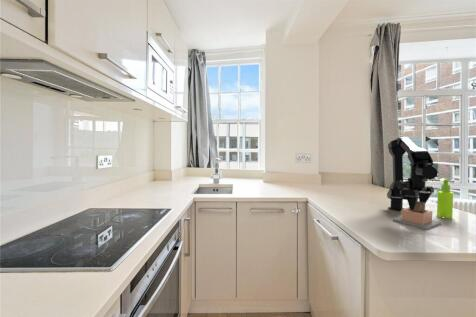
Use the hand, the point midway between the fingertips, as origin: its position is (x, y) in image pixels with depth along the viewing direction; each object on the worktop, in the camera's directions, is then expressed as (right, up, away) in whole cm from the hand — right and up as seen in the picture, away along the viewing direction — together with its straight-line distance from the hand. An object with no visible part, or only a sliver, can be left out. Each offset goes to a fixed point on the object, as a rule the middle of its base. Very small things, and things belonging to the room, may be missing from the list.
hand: (416, 208), depth 109 cm
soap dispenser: (+20, -7, +8) cm, 22 cm away
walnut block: (0, -6, 0) cm, 6 cm away
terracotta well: (0, -7, 0) cm, 7 cm away
